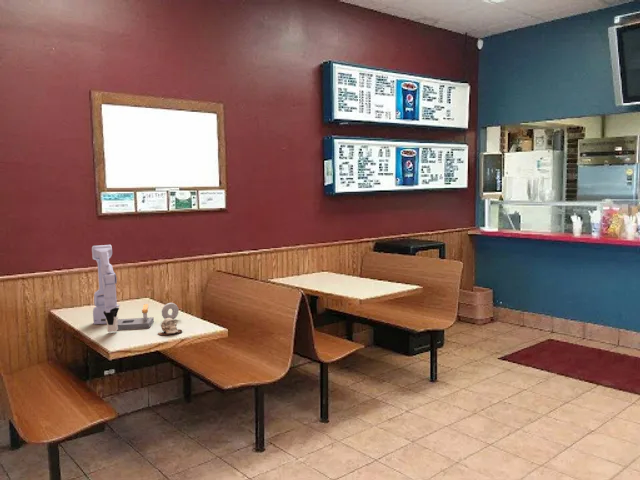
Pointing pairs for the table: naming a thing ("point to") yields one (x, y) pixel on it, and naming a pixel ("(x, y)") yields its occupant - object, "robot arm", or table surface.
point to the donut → (174, 311)
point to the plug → (112, 327)
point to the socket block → (135, 322)
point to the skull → (169, 327)
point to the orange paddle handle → (145, 308)
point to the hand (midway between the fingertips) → (112, 323)
